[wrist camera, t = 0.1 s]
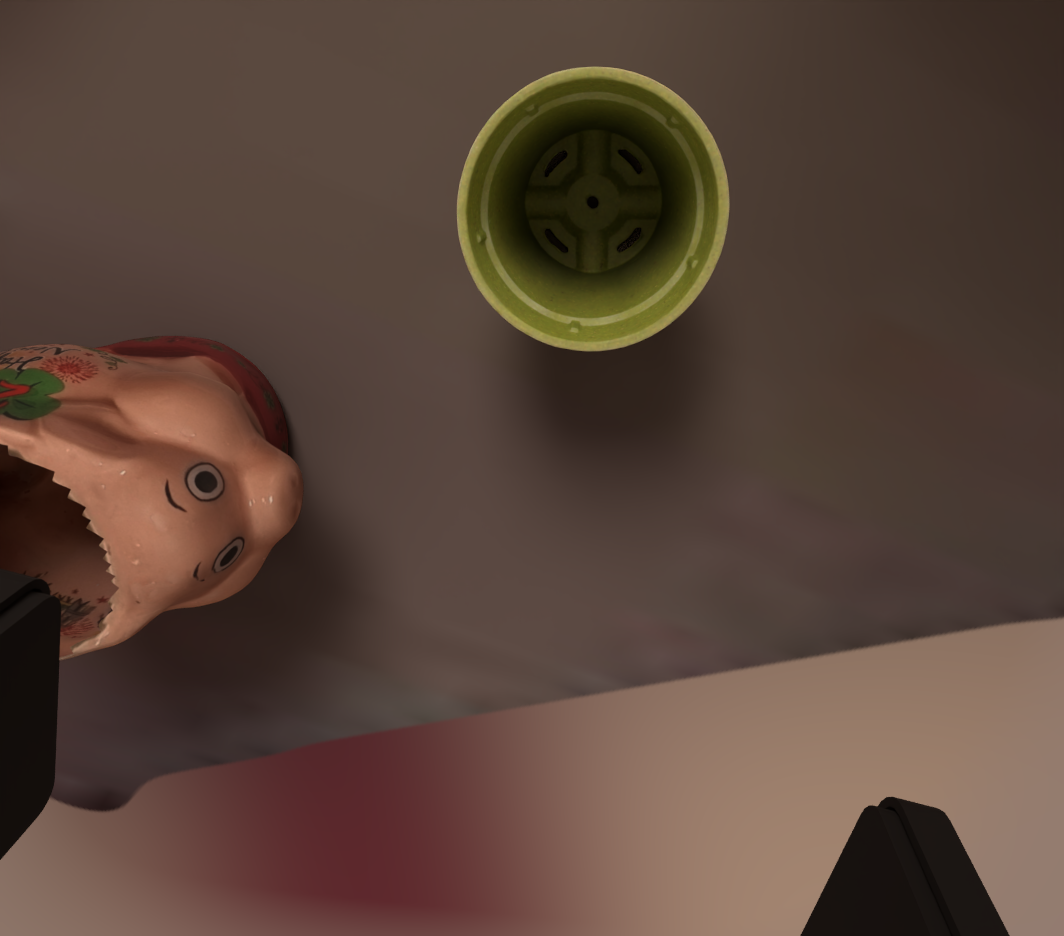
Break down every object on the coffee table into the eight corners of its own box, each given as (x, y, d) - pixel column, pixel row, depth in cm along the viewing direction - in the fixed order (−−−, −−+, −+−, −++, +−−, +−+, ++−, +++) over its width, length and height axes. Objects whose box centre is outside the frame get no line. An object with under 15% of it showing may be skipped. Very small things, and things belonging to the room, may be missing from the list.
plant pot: (748, 194, 36) (788, 205, 28) (598, 351, 39) (596, 402, 31) (590, 35, 35) (584, -1, 26) (446, 212, 38) (402, 228, 29)
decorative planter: (34, 559, 46) (-193, 719, 33) (-55, 342, 42) (-354, 426, 29) (383, 516, 43) (286, 671, 30) (324, 279, 39) (183, 340, 26)
